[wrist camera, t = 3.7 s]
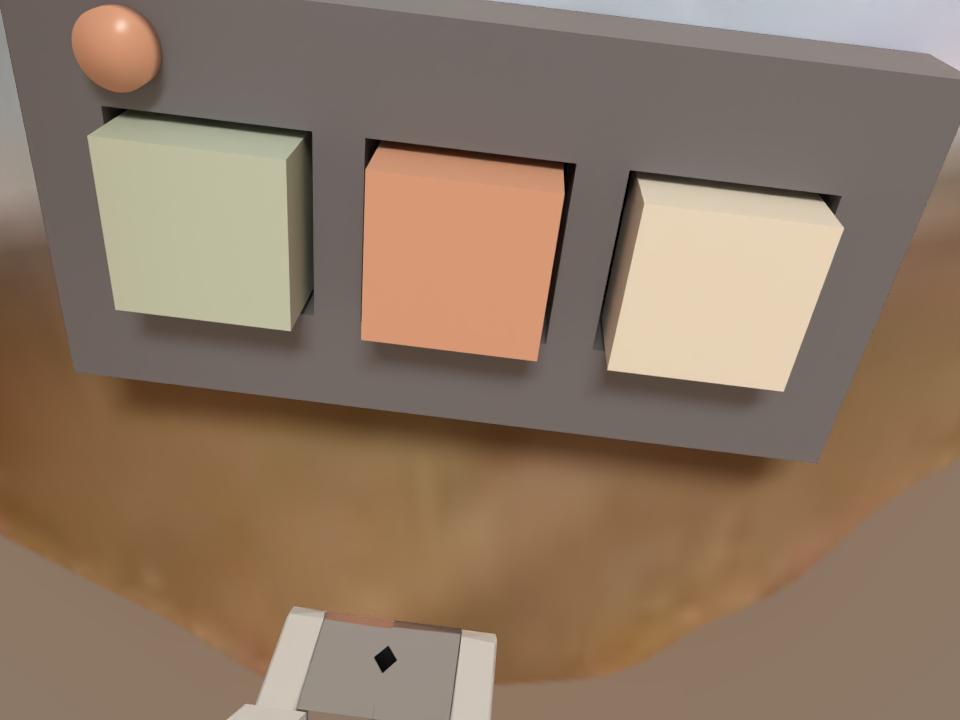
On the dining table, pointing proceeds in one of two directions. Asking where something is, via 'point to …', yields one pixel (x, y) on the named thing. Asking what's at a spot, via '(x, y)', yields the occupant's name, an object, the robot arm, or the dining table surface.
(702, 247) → the cream button
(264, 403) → the dining table surface
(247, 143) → the sage button
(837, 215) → the button panel
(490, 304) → the terracotta button
